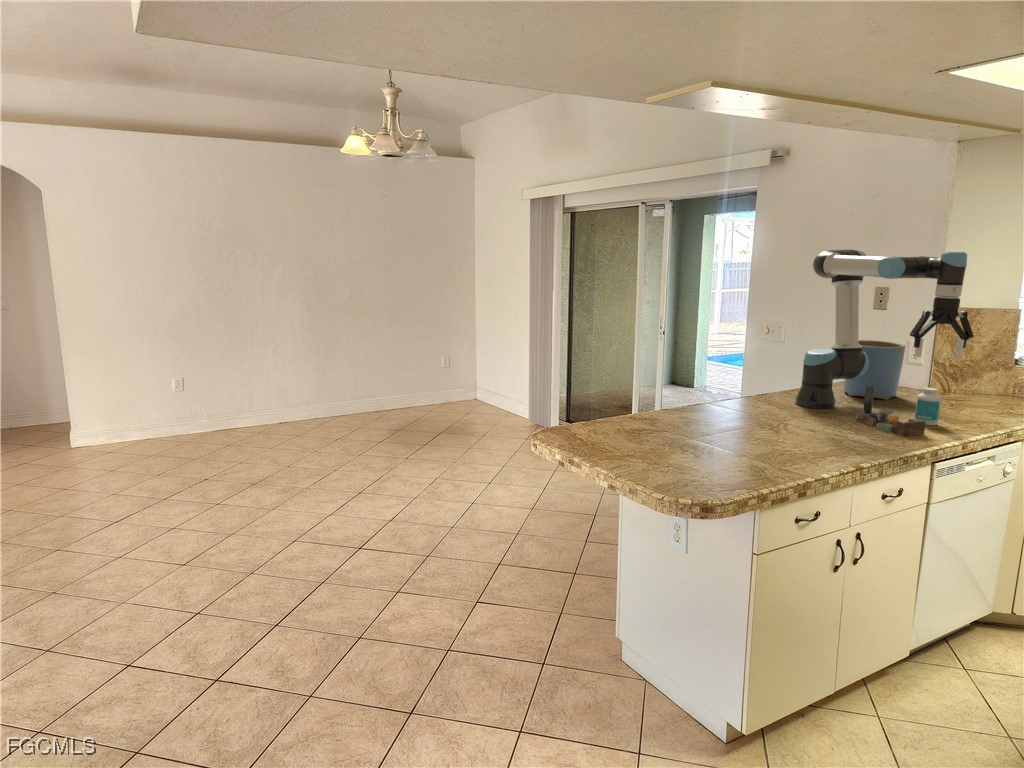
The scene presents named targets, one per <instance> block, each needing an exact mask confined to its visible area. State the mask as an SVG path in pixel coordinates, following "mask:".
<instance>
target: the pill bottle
mask: <svg viewBox="0 0 1024 768" xmlns="http://www.w3.org/2000/svg"><path fill="white" fill-rule="evenodd" d="M938 392H939V389H938V388H935V387H923V388H922V393H919V394H918V395H917V396H916V397H917V398H916V405H915V413H914V420H917V421H926V422H925V426H936V425H938V421H939V417H940V416H939V415H940V409H941V402H942V398H941V396H940V395H938Z"/></svg>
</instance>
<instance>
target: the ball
mask: <svg viewBox="0 0 1024 768" xmlns="http://www.w3.org/2000/svg"><path fill="white" fill-rule="evenodd" d="M887 419H888V422H890V423H893V420H897V421H900V416H899V415H898V414H896V413H894V414H890V415H889V416H888V418H887Z"/></svg>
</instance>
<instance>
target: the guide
mask: <svg viewBox="0 0 1024 768" xmlns="http://www.w3.org/2000/svg"><path fill="white" fill-rule="evenodd" d="M855 421H857V422H860V421H861V423H864V424H866V425H870V426H876V423H883V422H889V421H888V420H884V421H879V420H877V422H876V419H874V418H871V417H868V416H865V415H862V414H859V413H855Z"/></svg>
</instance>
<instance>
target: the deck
mask: <svg viewBox="0 0 1024 768" xmlns="http://www.w3.org/2000/svg"><path fill="white" fill-rule="evenodd" d="M899 421H900V420H899ZM900 422H903V423H904V421H900ZM876 429H877V430H881V431H884V432H887V433H892V432H891V430H892V423H890V422H889V421H888V422H883V423H879V422H876Z"/></svg>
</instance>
